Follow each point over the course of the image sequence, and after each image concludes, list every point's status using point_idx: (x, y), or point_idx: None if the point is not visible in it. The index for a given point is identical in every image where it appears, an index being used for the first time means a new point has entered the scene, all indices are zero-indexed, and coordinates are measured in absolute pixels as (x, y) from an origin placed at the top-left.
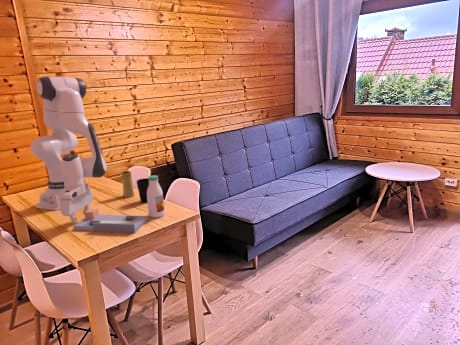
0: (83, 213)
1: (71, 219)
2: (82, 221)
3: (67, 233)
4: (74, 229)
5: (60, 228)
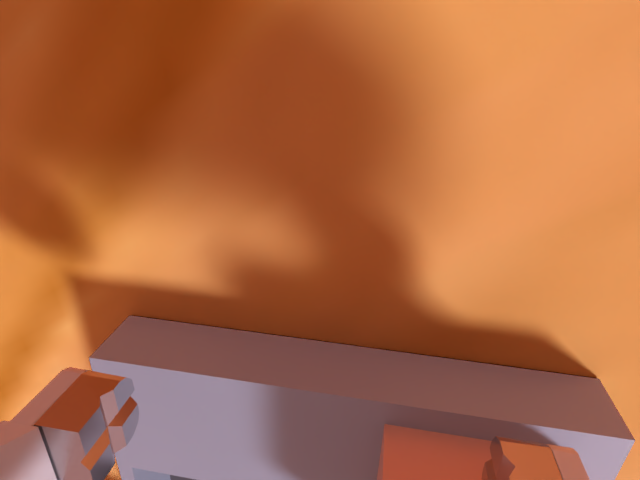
0: (501, 443)
1: (31, 406)
2: (266, 418)
3: (16, 277)
4: (126, 322)
5: (111, 53)
